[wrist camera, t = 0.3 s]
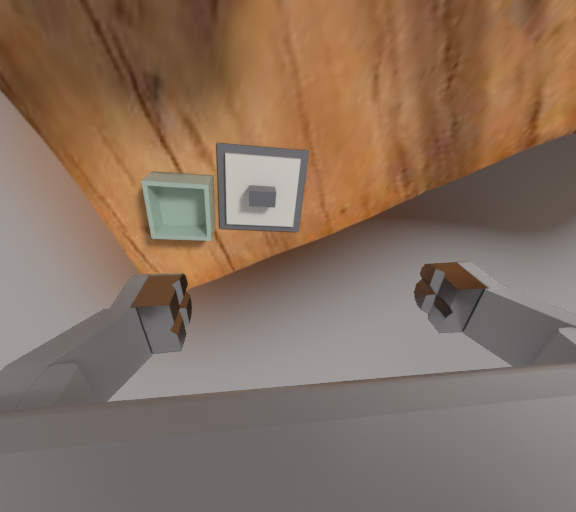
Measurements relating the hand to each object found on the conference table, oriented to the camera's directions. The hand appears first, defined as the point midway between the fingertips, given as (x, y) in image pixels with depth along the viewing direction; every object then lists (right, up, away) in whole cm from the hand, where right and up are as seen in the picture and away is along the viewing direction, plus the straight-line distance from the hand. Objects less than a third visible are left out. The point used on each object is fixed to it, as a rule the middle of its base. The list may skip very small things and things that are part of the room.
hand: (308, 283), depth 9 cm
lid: (-6, +14, +45) cm, 47 cm away
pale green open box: (-21, +12, +44) cm, 51 cm away
